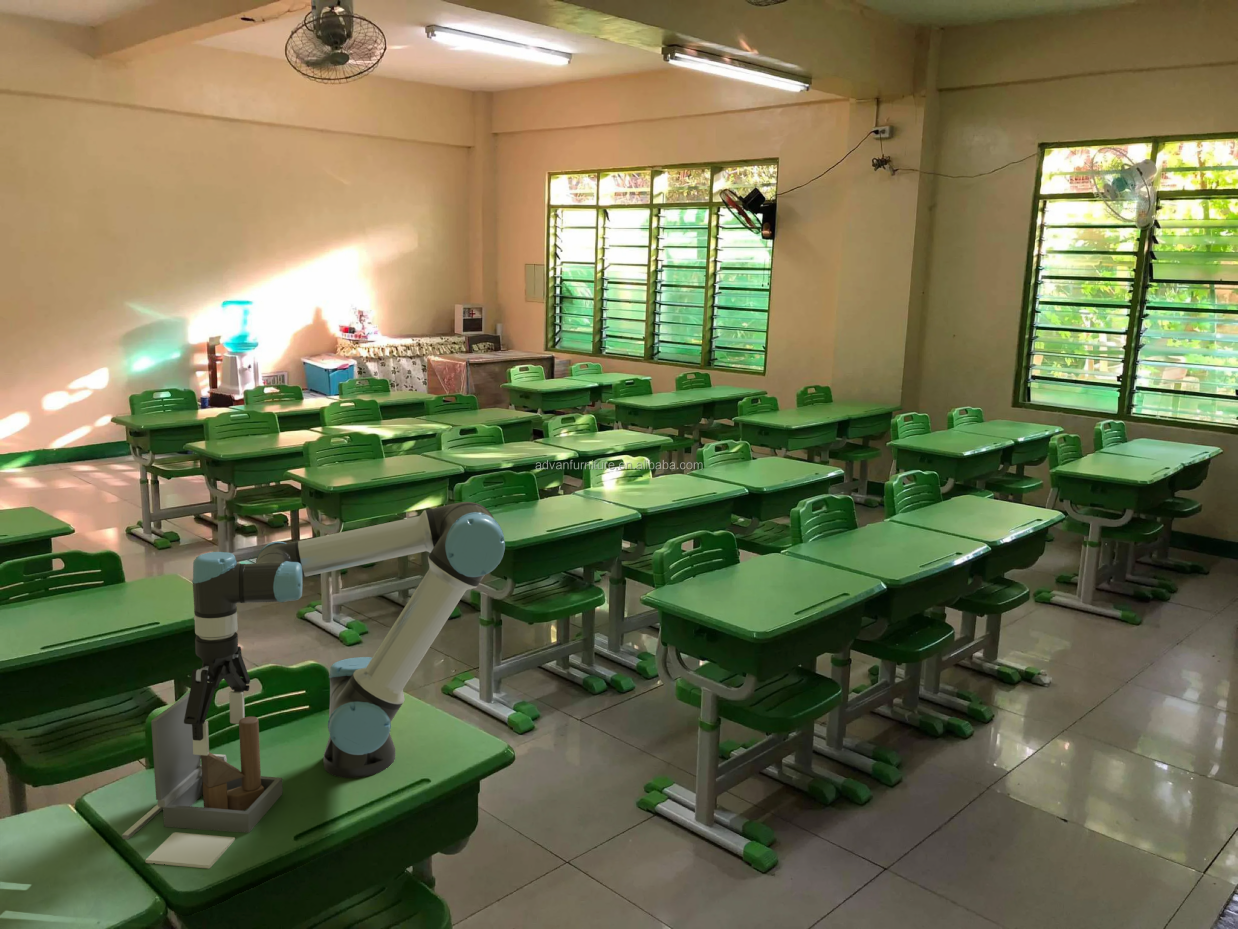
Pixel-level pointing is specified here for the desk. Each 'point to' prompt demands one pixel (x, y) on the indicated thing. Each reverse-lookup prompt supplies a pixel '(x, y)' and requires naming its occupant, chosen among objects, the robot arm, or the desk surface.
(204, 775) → the wooden toy pieces
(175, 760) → the case
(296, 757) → the desk surface
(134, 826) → the rod
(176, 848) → the mat
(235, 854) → the desk surface
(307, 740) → the desk surface
